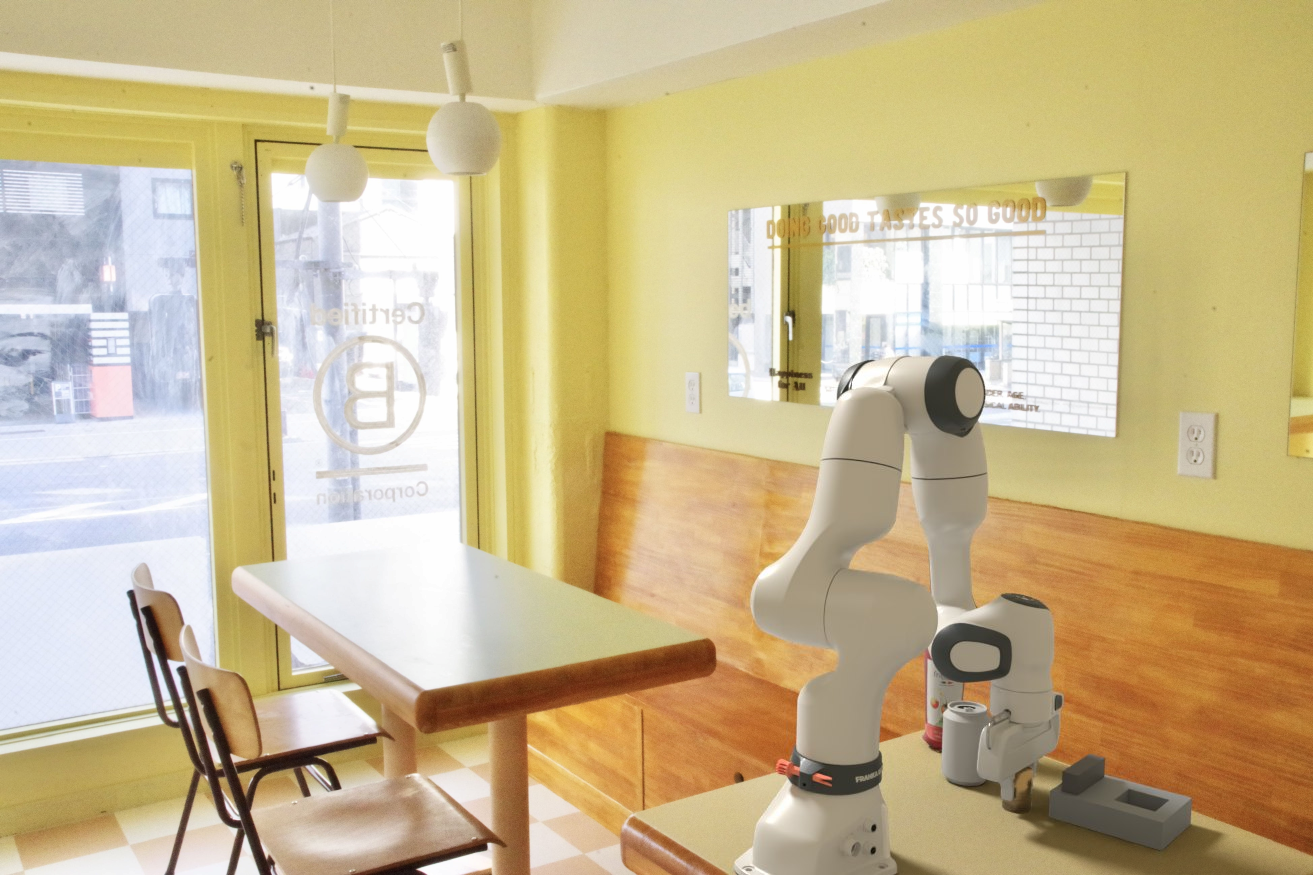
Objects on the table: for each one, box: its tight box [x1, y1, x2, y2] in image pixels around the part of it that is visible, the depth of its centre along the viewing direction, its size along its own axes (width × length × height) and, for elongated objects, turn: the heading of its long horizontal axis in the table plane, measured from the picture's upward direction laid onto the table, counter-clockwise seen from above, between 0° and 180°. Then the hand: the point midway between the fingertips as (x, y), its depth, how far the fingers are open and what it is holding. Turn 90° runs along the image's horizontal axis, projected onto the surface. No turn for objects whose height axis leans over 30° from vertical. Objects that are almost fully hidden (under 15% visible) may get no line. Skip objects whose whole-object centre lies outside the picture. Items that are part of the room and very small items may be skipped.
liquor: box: [921, 649, 966, 751], centre depth 195 cm, size 7×7×28 cm
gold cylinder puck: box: [1001, 766, 1034, 814], centre depth 170 cm, size 4×4×6 cm
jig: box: [1048, 753, 1193, 851], centre depth 165 cm, size 12×16×7 cm
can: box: [940, 700, 992, 787], centre depth 181 cm, size 8×8×12 cm
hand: (1016, 793), depth 170 cm, fingers closed on gold cylinder puck, 4 cm apart
